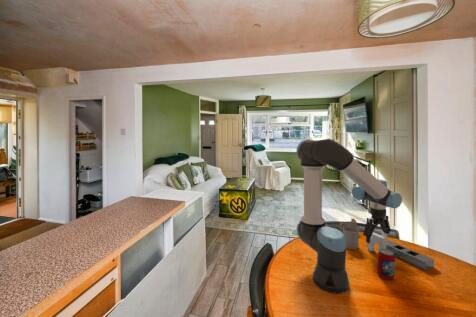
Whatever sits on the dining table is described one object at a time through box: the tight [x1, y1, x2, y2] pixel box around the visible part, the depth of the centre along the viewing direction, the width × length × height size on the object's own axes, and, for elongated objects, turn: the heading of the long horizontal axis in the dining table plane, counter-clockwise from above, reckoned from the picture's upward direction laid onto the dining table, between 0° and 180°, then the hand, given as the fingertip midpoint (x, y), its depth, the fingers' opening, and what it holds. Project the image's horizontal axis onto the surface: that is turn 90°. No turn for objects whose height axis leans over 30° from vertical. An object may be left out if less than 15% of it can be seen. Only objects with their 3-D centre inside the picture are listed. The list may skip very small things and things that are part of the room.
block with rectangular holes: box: [386, 240, 435, 271], centre depth 117 cm, size 7×22×4 cm, turn 20°
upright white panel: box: [366, 231, 388, 253], centre depth 121 cm, size 9×3×10 cm, turn 20°
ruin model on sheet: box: [338, 218, 358, 233], centre depth 148 cm, size 11×3×10 cm, turn 100°
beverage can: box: [376, 249, 396, 280], centre depth 101 cm, size 7×7×12 cm
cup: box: [343, 227, 360, 250], centre depth 131 cm, size 8×8×10 cm
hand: (376, 245), depth 122 cm, fingers open, 11 cm apart
